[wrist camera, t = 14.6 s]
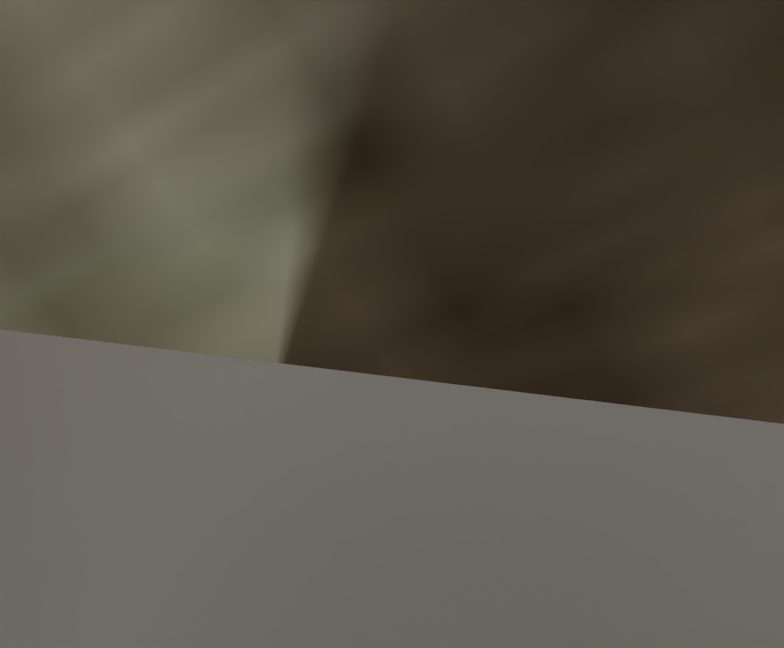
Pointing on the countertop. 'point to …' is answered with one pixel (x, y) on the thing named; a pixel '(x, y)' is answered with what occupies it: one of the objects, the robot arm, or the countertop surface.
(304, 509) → the matte white cube
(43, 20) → the countertop surface
